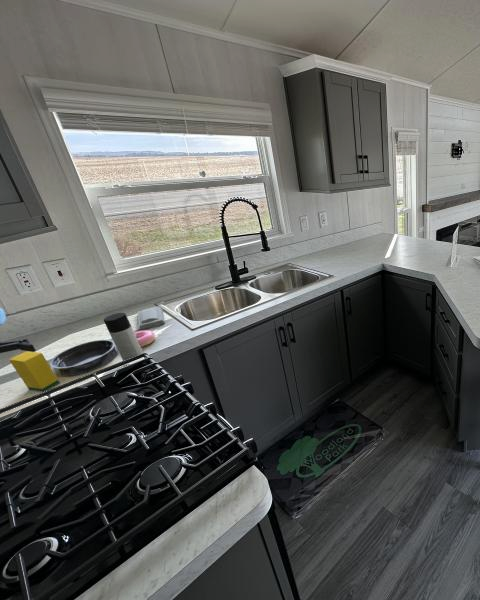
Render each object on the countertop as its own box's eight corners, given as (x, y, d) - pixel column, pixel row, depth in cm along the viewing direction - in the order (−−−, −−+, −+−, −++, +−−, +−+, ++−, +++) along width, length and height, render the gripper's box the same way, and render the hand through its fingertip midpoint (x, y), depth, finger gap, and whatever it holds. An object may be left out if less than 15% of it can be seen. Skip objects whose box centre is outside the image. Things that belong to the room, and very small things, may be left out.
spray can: (149, 356, 131) (130, 312, 122) (134, 367, 125) (113, 321, 116) (135, 355, 132) (115, 311, 123) (120, 365, 126) (97, 320, 117)
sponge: (28, 389, 114) (8, 359, 109) (45, 380, 119) (26, 351, 113) (43, 392, 113) (23, 361, 107) (60, 383, 117) (41, 352, 112)
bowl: (48, 383, 117) (42, 374, 116) (62, 357, 132) (57, 349, 130) (115, 365, 126) (111, 356, 125) (121, 342, 141) (117, 334, 139)
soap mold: (162, 308, 170) (160, 302, 169) (165, 323, 156) (162, 316, 154) (138, 314, 165) (135, 308, 164) (138, 330, 150) (135, 323, 149)
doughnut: (118, 350, 136) (114, 342, 134) (138, 336, 146) (135, 328, 144) (143, 350, 135) (140, 341, 133) (162, 336, 145) (159, 328, 143)
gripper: (15, 343, 129) (55, 348, 125) (-80, 384, 107) (-35, 392, 103) (5, 326, 126) (46, 331, 122) (-95, 365, 104) (-50, 372, 100)
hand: (9, 359), depth 112 cm, fingers open, 13 cm apart
